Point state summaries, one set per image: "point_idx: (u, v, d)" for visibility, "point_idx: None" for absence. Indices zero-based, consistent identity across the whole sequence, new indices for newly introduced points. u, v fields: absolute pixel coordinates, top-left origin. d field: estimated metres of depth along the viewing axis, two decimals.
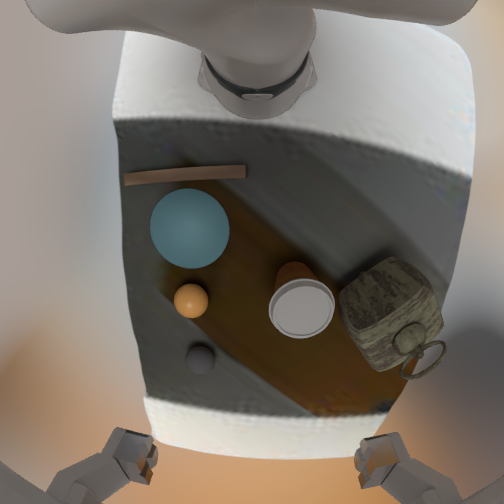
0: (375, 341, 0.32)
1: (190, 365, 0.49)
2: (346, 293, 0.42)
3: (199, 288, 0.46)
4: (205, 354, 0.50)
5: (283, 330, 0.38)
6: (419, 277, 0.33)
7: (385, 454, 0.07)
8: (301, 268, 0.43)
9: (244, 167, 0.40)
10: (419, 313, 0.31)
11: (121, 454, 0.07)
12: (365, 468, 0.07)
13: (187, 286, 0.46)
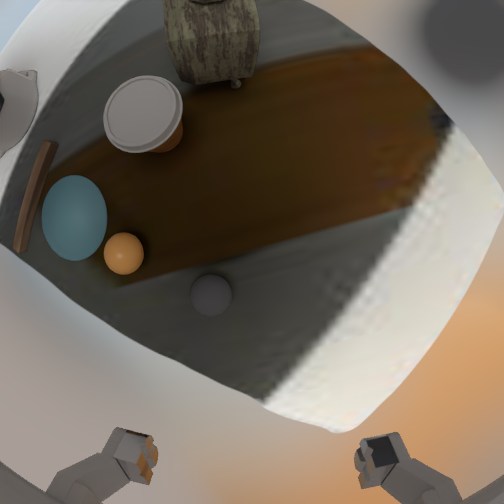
0: (185, 21, 0.18)
1: (199, 307, 0.36)
2: None
3: (114, 235, 0.36)
4: (199, 280, 0.37)
5: (148, 139, 0.26)
6: None
7: (385, 454, 0.07)
8: None
9: (44, 141, 0.32)
10: None
11: (121, 454, 0.07)
12: (365, 468, 0.07)
13: None
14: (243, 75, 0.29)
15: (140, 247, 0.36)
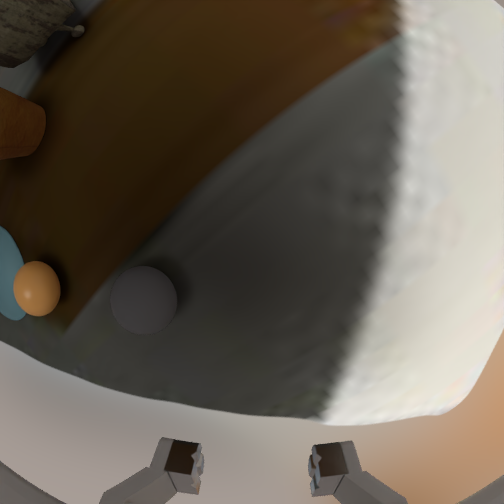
0: None
1: (124, 325, 0.20)
2: None
3: None
4: (113, 285, 0.21)
5: None
6: None
7: (333, 463, 0.07)
8: None
9: None
10: None
11: (172, 466, 0.07)
12: (315, 475, 0.07)
13: None
14: (55, 12, 0.12)
15: (43, 272, 0.22)
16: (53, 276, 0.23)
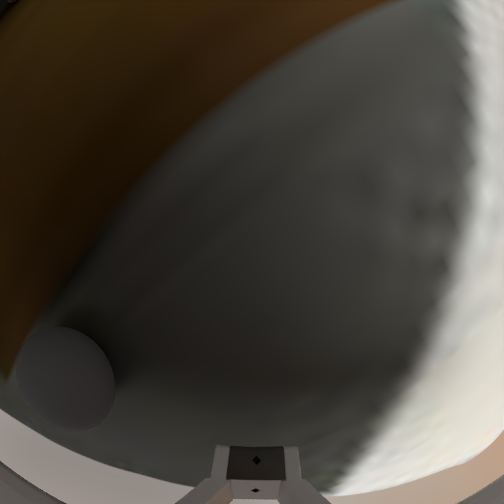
0: None
1: None
2: None
3: None
4: None
5: None
6: None
7: (272, 468, 0.07)
8: None
9: None
10: None
11: (235, 474, 0.07)
12: None
13: None
14: None
15: None
16: None
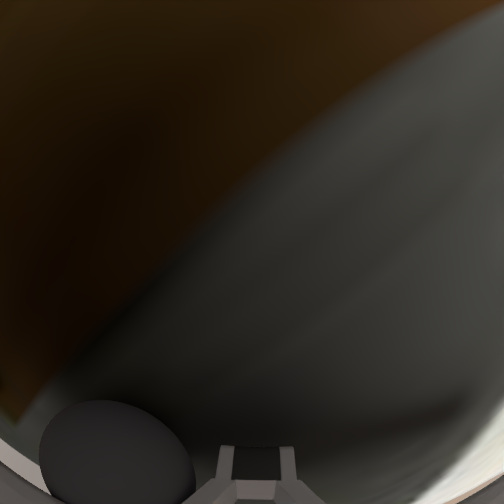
0: None
1: None
2: None
3: None
4: (41, 440, 0.06)
5: None
6: None
7: (267, 468, 0.07)
8: None
9: None
10: None
11: (240, 474, 0.07)
12: None
13: None
14: None
15: None
16: None
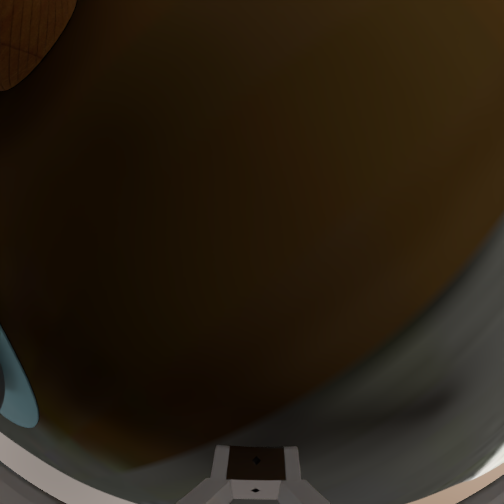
0: None
1: None
2: None
3: None
4: None
5: None
6: None
7: (272, 468, 0.07)
8: None
9: None
10: None
11: (235, 473, 0.07)
12: None
13: None
14: None
15: None
16: None
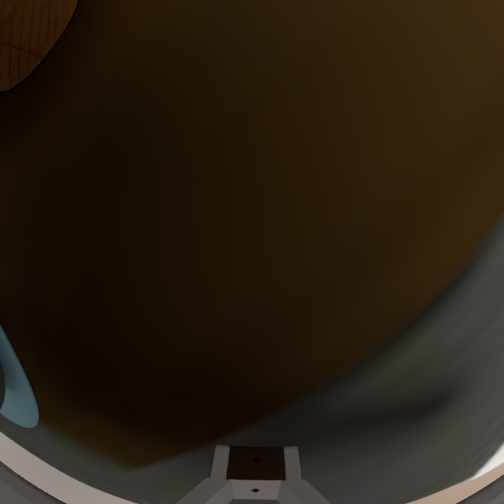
0: None
1: (0, 404, 0.08)
2: None
3: None
4: None
5: None
6: None
7: (272, 468, 0.07)
8: None
9: None
10: None
11: (235, 473, 0.07)
12: None
13: None
14: None
15: None
16: None
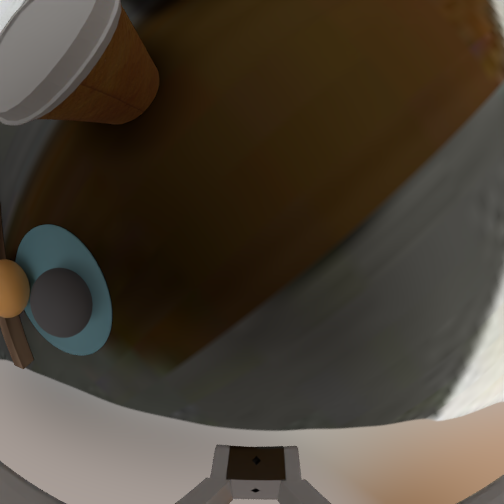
0: None
1: (89, 319, 0.20)
2: None
3: None
4: (63, 296, 0.17)
5: (58, 58, 0.07)
6: None
7: (272, 468, 0.07)
8: None
9: None
10: None
11: (235, 473, 0.07)
12: None
13: None
14: None
15: (6, 272, 0.18)
16: (17, 279, 0.19)
